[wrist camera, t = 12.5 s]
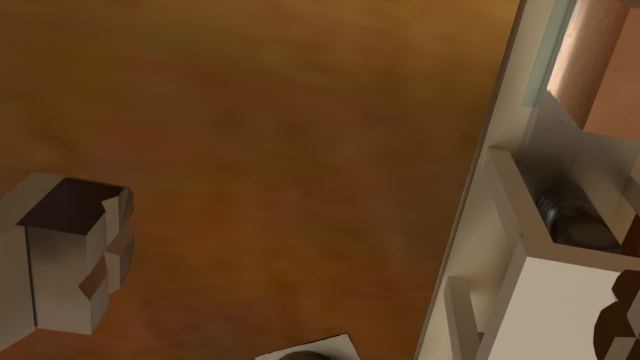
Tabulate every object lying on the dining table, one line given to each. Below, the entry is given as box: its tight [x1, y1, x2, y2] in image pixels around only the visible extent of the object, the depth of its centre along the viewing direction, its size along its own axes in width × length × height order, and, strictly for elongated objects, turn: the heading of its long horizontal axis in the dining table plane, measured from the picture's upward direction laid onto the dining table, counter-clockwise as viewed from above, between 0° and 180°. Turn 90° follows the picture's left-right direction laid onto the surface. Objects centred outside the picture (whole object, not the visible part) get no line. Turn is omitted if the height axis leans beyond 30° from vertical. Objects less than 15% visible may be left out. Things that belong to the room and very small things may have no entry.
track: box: [413, 0, 640, 360], centre depth 40 cm, size 11×42×2 cm, turn 172°
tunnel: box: [443, 147, 640, 360], centre depth 34 cm, size 11×12×12 cm
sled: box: [498, 0, 640, 255], centre depth 30 cm, size 7×24×7 cm, turn 172°
